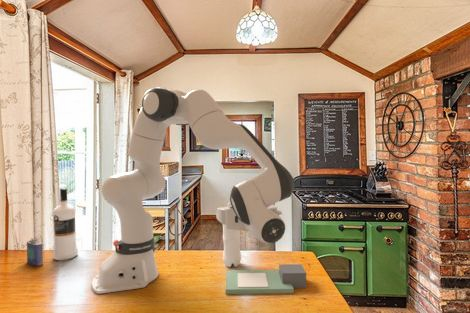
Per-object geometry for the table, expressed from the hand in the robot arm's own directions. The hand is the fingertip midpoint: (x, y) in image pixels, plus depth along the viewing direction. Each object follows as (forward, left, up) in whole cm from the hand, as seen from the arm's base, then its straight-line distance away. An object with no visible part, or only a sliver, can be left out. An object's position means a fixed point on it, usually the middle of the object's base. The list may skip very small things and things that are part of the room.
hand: (240, 207), depth 103 cm
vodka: (-58, +54, -26) cm, 83 cm away
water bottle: (+2, +12, -26) cm, 29 cm away
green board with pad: (+6, -7, -26) cm, 27 cm away
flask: (-69, +52, -26) cm, 90 cm away
